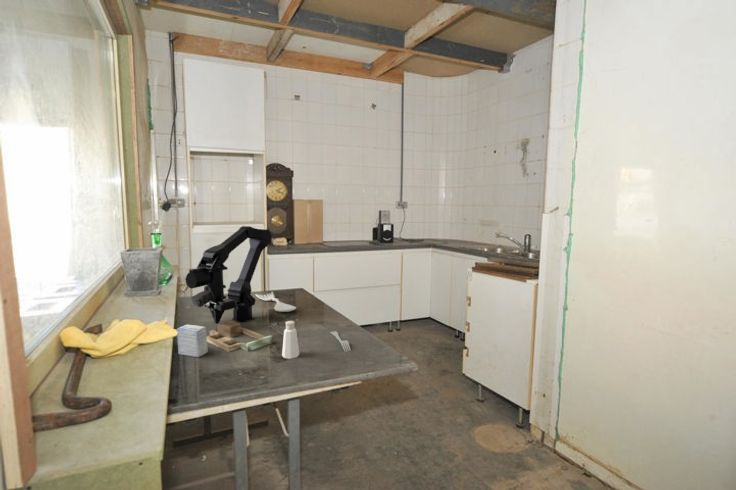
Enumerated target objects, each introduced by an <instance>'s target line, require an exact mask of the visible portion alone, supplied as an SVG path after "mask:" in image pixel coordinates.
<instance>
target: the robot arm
mask: <svg viewBox="0 0 736 490" xmlns="http://www.w3.org/2000/svg"><path fill="white" fill-rule="evenodd" d="M272 237H273V235H272V233H271V231H270V230H269V229H266V228H265V229H264V228H256V227H252V226H246V225H242V226H241V227H240V228H239V229H238V230H236V232H234V233H232V234H231V235H230V236H229V237H227V238H225V239H224V241H222V242H221V243H220V244H216V245H215V246H211V247H209V248H207V249H206V250H204V252H203V253H202V256H201V259H200V261H199V262H198V264H197V266H196V268H189V269H188V273H187V274H186V277H185V283H186V286H187V287H188V288H189V289H198V288H201V287H203V290H202V291H200V292H198V293H196V294H194V295H193V296H191V298H190V299H191V302H192V303H193V306H195V307H197V308H202V307H205V308H206V309H208V310H209V312H210V314H211V316H212V319H213V322H214V324H216V325H218V324H219V323H221V319H222V316H223V315H224V313H225V311H228V310H231V309H233V310H232V312H233V313H232V315H233V317H232V321H236V322H238V323H245V322H248V321H251V320H255V316H253V306H255V305H256V298H255V297H254V296H253V295H251V293H252V286H251V285H252V284H251V282H252V279H253V276H254V274H255V270H256V268H257V265H258V263H259V260H260V257H261V254H262V252H263V251H264V250H265V249H266V247H268V245H269V244H270V242H271V240H272ZM247 239H248V241H249V249H248V252H247V255H246V258H245V260H244V263H243V265H242V268H241V271H240V274H239V276H238V277H237V279H236V281H231V282H230V284H229V287H228V289H227V295H225V294H224V292H225V291H224V290H225V289H226V287H227V285H226V284H224V271H225V270H226V271H227V270H228V267H227V266H226V265H224V264H225V262H226V261H227V260H229V259H228V258H229V256H230V254H231V253H232V252H233V251H234V250H235V249H236V248H238V247H239V246H240V245H241V244H242V243H245V241H246V240H247Z"/></svg>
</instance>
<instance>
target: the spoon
mask: <svg viewBox="0 0 736 490" xmlns="http://www.w3.org/2000/svg"><path fill="white" fill-rule="evenodd" d="M255 297H257V298H258V299H260V300H262V301H265V302H270V301H273V302H275V303H276V304H275V306H274V307H273V309H274V310H275V311H276V312H280V313H289V312H292V311H295V310H297V307H296V306H295V305H292V304H288V303H285V302H282V301H280V299H279V298H276V296H275V294H274V292H273V291H271V293H270V292H269V293H266V294H257V293H255Z"/></svg>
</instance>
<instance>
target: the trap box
mask: <svg viewBox="0 0 736 490" xmlns="http://www.w3.org/2000/svg"><path fill="white" fill-rule="evenodd" d="M240 327H241V334H244V335H247V336H248V337H252V338H255V339H254V340H253V341H249V342H247V343H245V342H240V343H239V342H237V343H235V339H234V337H232V338H231V337H228V336H226V337H225V336H222V337H221V335H220V333H219V332H218V331H216V330H213V329H211V330H209V335H207V343H209V344H211V345H214V346H215V347H217V348H219V349H221V350H223V351H226V352H227V353H229V352H232V351H235V350H238V349H242V350H244V351H246V352H251V351H253V350H256V349H259V348H262V347H265V346H267V345H271V344H273V336H272V335H268V336H267V335H263V334H261V333H258V332H255V331H253V330H250V329H247V328H245V327H242V326H240ZM220 337H221V338H220Z"/></svg>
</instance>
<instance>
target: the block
mask: <svg viewBox="0 0 736 490" xmlns="http://www.w3.org/2000/svg"><path fill="white" fill-rule="evenodd" d="M241 327H242V326H241V323H239V322H238V323H237V322H234V321H231V320H226V321H223V322H219V323H218V324H217V332H219V333H220V336H222V337H226V336H228V337H231V338H234V337H237V336H241V334H242V333H241Z"/></svg>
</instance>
